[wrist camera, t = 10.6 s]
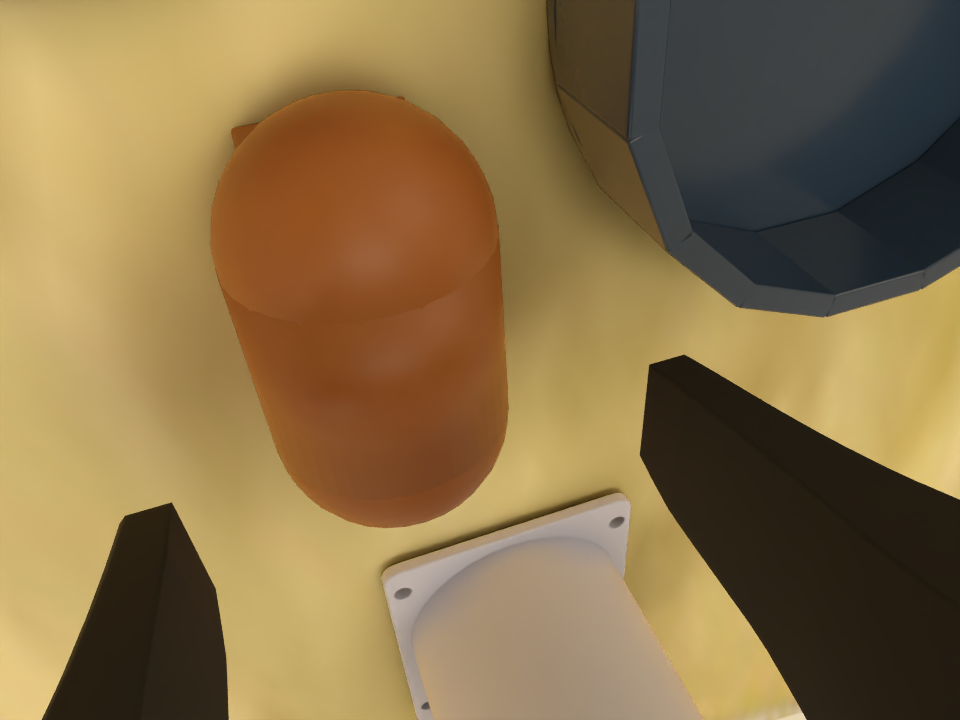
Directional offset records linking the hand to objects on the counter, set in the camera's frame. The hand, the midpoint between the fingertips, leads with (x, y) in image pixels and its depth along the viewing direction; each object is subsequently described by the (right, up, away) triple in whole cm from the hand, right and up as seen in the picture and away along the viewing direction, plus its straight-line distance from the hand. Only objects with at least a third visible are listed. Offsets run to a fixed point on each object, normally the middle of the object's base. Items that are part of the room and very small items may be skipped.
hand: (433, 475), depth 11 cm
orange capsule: (-2, +4, +5) cm, 6 cm away
